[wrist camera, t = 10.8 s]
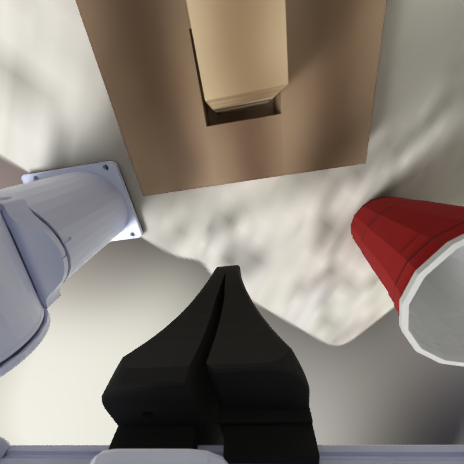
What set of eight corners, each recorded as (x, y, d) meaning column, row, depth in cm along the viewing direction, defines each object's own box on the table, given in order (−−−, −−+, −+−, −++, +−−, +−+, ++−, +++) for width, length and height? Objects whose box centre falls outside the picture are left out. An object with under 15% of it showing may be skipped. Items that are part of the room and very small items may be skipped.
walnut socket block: (157, 186, 20) (143, 196, 17) (96, -12, 14) (57, -53, 11) (343, 158, 19) (365, 163, 16) (363, -73, 13) (404, -139, 10)
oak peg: (216, 115, 17) (204, 102, 10) (206, 53, 15) (181, -18, 8) (265, 105, 17) (289, 85, 10) (260, 41, 15) (284, -43, 8)
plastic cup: (394, 143, 18) (621, 157, 8) (452, 214, 21) (676, 298, 10) (303, 227, 22) (369, 317, 11) (363, 278, 25) (461, 388, 14)
